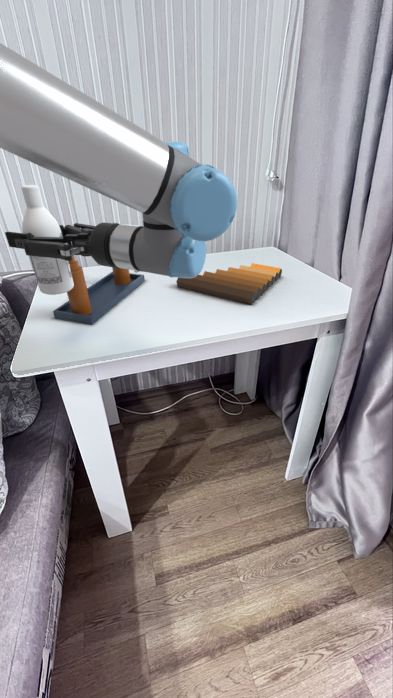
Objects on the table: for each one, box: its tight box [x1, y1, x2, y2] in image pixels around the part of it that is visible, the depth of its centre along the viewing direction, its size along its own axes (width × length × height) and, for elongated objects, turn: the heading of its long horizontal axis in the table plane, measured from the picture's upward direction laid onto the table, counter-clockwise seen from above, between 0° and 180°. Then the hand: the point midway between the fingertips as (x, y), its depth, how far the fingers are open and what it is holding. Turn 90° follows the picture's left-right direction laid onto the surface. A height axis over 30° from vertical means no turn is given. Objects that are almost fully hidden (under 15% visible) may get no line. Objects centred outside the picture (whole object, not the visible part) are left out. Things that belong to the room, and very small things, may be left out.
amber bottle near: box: [66, 255, 92, 315], centre depth 81 cm, size 5×5×18 cm
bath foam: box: [20, 184, 74, 296], centre depth 64 cm, size 7×7×20 cm
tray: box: [52, 271, 146, 326], centre depth 95 cm, size 30×12×2 cm, turn 162°
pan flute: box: [175, 262, 283, 306], centre depth 103 cm, size 25×3×25 cm
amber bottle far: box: [111, 222, 131, 285], centre depth 98 cm, size 5×5×18 cm
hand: (24, 234), depth 65 cm, fingers closed on bath foam, 7 cm apart
